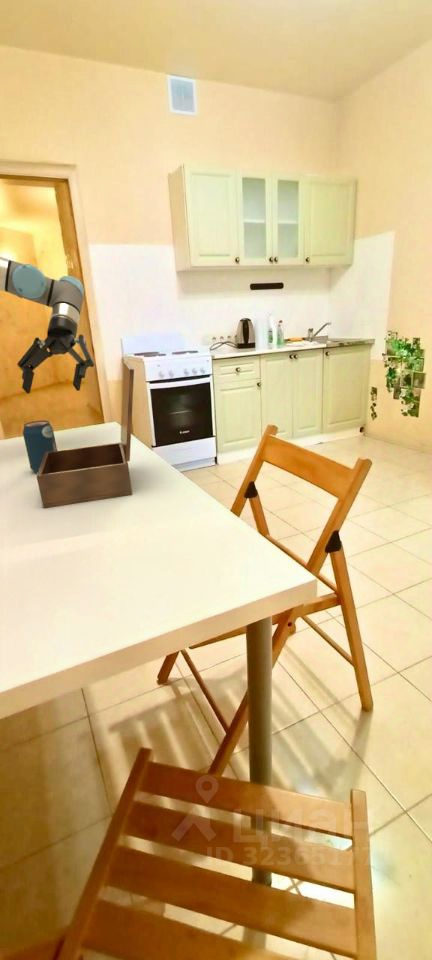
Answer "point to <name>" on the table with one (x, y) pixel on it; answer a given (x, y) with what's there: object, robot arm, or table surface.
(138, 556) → the table surface
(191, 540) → the table surface
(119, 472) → the brown wooden open box
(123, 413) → the lid
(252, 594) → the table surface
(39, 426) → the soda can
